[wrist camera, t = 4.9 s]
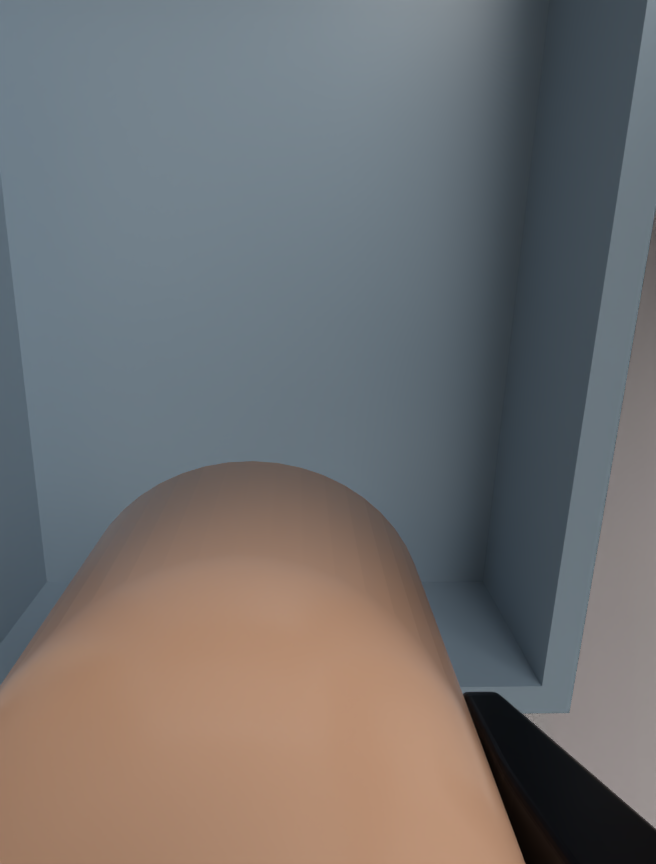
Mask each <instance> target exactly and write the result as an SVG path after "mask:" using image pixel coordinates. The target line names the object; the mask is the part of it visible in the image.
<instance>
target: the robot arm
mask: <svg viewBox="0 0 656 864" xmlns="http://www.w3.org/2000/svg"><path fill="white" fill-rule="evenodd" d="M463 696H464V699H465V701H466V704H467V707H468V710H469V712H470V715H471V718H472V720H473V723H474V726H475V728H476V731H477V734H478V737H479V739H480V742H481V745H482V747H483V750H484V753H485V756H486V758H487V761H488V764H489V766H490V769H491V772H492V774H493V777H494V780H495V783H496V785H497V788H498V791H499V793H500V796H501V799H502V801H503V804H504V807H505V810H506V812H507V815H508V818H509V820H510V823H511V826H512V829H513V831H514V834H515V837H516V839H517V842H518V845H519V847H520V850H521V853H522V856H523V858H524V861H525V864H656V829H655V828H654V827H653V826H652V825H651V824H649V823H648V822H647V821H646V820H645V819H644V818H642V817H641V816H640V815H639V814H638V813H637V812H636V811H634V810H633V809H632V808H631V807H630V806H629V805H627V804H626V803H625V802H624V801H623V800H622V799H620V798H619V797H618V796H617V795H616V794H615V793H614V792H612V791H611V790H610V789H609V788H608V787H607V786H605V785H604V784H603V783H602V782H601V781H600V780H598V779H597V778H596V777H595V776H594V775H593V774H591V773H590V772H589V771H588V770H587V769H586V768H585V767H583V766H582V765H581V764H580V763H579V762H578V761H576V760H575V759H574V758H573V757H572V756H571V755H569V754H568V753H567V752H566V751H565V750H564V749H563V748H561V747H560V746H559V745H558V744H557V743H556V742H554V741H553V740H552V739H551V738H550V737H549V736H547V735H546V734H545V733H544V732H543V731H542V730H541V729H539V728H538V727H537V726H536V725H535V724H534V723H532V722H531V721H530V720H529V719H528V718H527V717H525V716H524V715H523V714H522V713H521V712H520V711H519V710H517V709H516V708H515V707H514V706H513V705H512V704H510V703H509V702H508V701H507V700H506V699H505V698H503V697H502V696H501V695H500V694H498V693H496V692H465V693H464V694H463Z"/></svg>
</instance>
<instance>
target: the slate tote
mask: <svg viewBox="0 0 656 864" xmlns="http://www.w3.org/2000/svg"><path fill="white" fill-rule="evenodd" d="M655 210H656V0H0V685H1V684H2V682H3V681H4V679H5V678H6V676H7V675H8V673H9V672H10V670H11V669H12V667H13V666H14V664H15V663H16V661H17V660H18V659H19V657H20V656H21V654H22V653H23V651H24V650H25V648H26V647H27V645H28V644H29V642H30V641H31V639H32V638H33V636H34V635H35V634H36V632H37V631H38V629H39V628H40V626H41V625H42V623H43V622H44V620H45V619H46V617H47V616H48V614H49V613H50V611H51V610H52V608H53V607H54V606H55V604H56V603H57V601H58V600H59V598H60V597H61V595H62V594H63V592H64V591H65V589H66V588H67V586H68V585H69V583H70V582H71V581H72V579H73V578H74V576H75V575H76V573H77V572H78V570H79V569H80V567H81V566H82V564H83V563H84V561H85V560H86V558H87V557H88V556H89V554H90V553H91V551H92V550H93V548H94V547H95V545H96V544H97V542H98V541H99V539H100V538H101V536H102V535H103V533H104V532H105V531H106V529H107V528H108V526H109V525H110V524H111V523H112V522H113V521H114V520H115V518H116V517H117V516H118V515H119V514H120V513H121V512H122V511H123V510H124V509H125V508H126V507H127V506H129V505H130V504H131V503H132V502H133V501H135V500H136V499H137V498H138V497H139V496H141V495H142V494H144V493H145V492H147V491H149V490H150V489H152V488H153V487H155V486H157V485H158V484H160V483H162V482H164V481H166V480H168V479H171V478H173V477H175V476H177V475H180V474H182V473H185V472H188V471H191V470H195V469H198V468H201V467H205V466H210V465H216V464H222V463H227V462H245V461H258V462H272V463H280V464H285V465H290V466H295V467H300V468H304V469H307V470H310V471H313V472H316V473H319V474H321V475H324V476H326V477H328V478H330V479H333V480H335V481H337V482H339V483H341V484H343V485H345V486H346V487H348V488H350V489H351V490H353V491H354V492H356V493H357V494H359V495H360V496H362V497H363V498H365V499H366V500H367V501H368V502H369V503H370V504H372V505H373V506H374V507H375V508H376V509H377V510H378V511H380V512H381V513H382V514H383V516H384V517H385V518H386V519H387V520H388V521H389V522H390V524H391V525H392V526H393V527H394V528H395V530H396V531H397V533H398V534H399V536H400V537H401V539H402V540H403V542H404V543H405V545H406V546H407V549H408V551H409V553H410V555H411V557H412V559H413V562H414V564H415V566H416V569H417V572H418V574H419V577H420V580H421V582H422V585H423V588H424V591H425V593H426V596H427V599H428V601H429V604H430V607H431V609H432V612H433V615H434V618H435V620H436V623H437V626H438V628H439V631H440V634H441V637H442V639H443V642H444V645H445V647H446V650H447V653H448V655H449V658H450V661H451V664H452V666H453V669H454V672H455V674H456V677H457V680H458V682H459V685H460V688H461V691H462V693H463V694H464V693H465V692H496V693H498V694H500V695H501V696H502V697H503V698H505V699H506V700H507V701H508V702H509V703H510V704H512V705H513V706H514V707H515V708H516V709H517V710H519V711H520V712H521V713H522V714H523V713H569V711H570V705H571V700H572V694H573V688H574V682H575V676H576V671H577V665H578V659H579V653H580V647H581V641H582V636H583V630H584V624H585V618H586V612H587V606H588V601H589V595H590V589H591V583H592V577H593V571H594V566H595V560H596V554H597V548H598V542H599V536H600V531H601V525H602V519H603V513H604V507H605V501H606V496H607V490H608V484H609V478H610V472H611V467H612V461H613V455H614V449H615V443H616V437H617V432H618V426H619V420H620V414H621V408H622V402H623V397H624V391H625V385H626V379H627V373H628V367H629V362H630V356H631V350H632V344H633V338H634V332H635V327H636V321H637V315H638V309H639V303H640V297H641V292H642V286H643V280H644V274H645V268H646V262H647V257H648V251H649V245H650V239H651V233H652V228H653V222H654V216H655Z"/></svg>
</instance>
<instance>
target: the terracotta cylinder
mask: <svg viewBox="0 0 656 864" xmlns="http://www.w3.org/2000/svg"><path fill="white" fill-rule="evenodd" d="M0 864H525V861H524V858H523V856H522V853H521V850H520V847H519V845H518V842H517V839H516V837H515V834H514V831H513V829H512V826H511V823H510V820H509V818H508V815H507V812H506V810H505V807H504V804H503V801H502V799H501V796H500V793H499V791H498V788H497V785H496V783H495V780H494V777H493V774H492V772H491V769H490V766H489V764H488V761H487V758H486V756H485V753H484V750H483V747H482V745H481V742H480V739H479V737H478V734H477V731H476V728H475V726H474V723H473V720H472V718H471V715H470V712H469V710H468V707H467V704H466V701H465V699H464V696H463V693H462V691H461V688H460V685H459V682H458V680H457V677H456V674H455V672H454V669H453V666H452V664H451V661H450V658H449V655H448V653H447V650H446V647H445V645H444V642H443V639H442V637H441V634H440V631H439V628H438V626H437V623H436V620H435V618H434V615H433V612H432V609H431V607H430V604H429V601H428V599H427V596H426V593H425V591H424V588H423V585H422V582H421V580H420V577H419V574H418V572H417V569H416V566H415V564H414V562H413V559H412V557H411V555H410V553H409V551H408V549H407V546H406V545H405V543H404V542H403V540H402V539H401V537H400V536H399V534H398V533H397V531H396V530H395V528H394V527H393V526H392V525H391V524H390V522H389V521H388V520H387V519H386V518H385V517H384V516H383V514H382V513H381V512H380V511H378V510H377V509H376V508H375V507H374V506H373V505H372V504H370V503H369V502H368V501H367V500H366V499H365V498H363V497H362V496H360V495H359V494H357V493H356V492H354V491H353V490H351V489H350V488H348V487H346V486H345V485H343V484H341V483H339V482H337V481H335V480H333V479H330V478H328V477H326V476H324V475H321V474H319V473H316V472H313V471H310V470H307V469H304V468H300V467H295V466H290V465H285V464H280V463H272V462H258V461H245V462H227V463H222V464H216V465H210V466H205V467H201V468H198V469H195V470H191V471H188V472H185V473H182V474H180V475H177V476H175V477H173V478H171V479H168V480H166V481H164V482H162V483H160V484H158V485H157V486H155V487H153V488H152V489H150V490H149V491H147V492H145V493H144V494H142V495H141V496H139V497H138V498H137V499H136V500H135V501H133V502H132V503H131V504H130V505H129V506H127V507H126V508H125V509H124V510H123V511H122V512H121V513H120V514H119V515H118V516H117V517H116V518H115V520H114V521H113V522H112V523H111V524H110V525H109V526H108V528H107V529H106V531H105V532H104V533H103V535H102V536H101V538H100V539H99V541H98V542H97V544H96V545H95V547H94V548H93V550H92V551H91V553H90V554H89V556H88V557H87V558H86V560H85V561H84V563H83V564H82V566H81V567H80V569H79V570H78V572H77V573H76V575H75V576H74V578H73V579H72V581H71V582H70V583H69V585H68V586H67V588H66V589H65V591H64V592H63V594H62V595H61V597H60V598H59V600H58V601H57V603H56V604H55V606H54V607H53V608H52V610H51V611H50V613H49V614H48V616H47V617H46V619H45V620H44V622H43V623H42V625H41V626H40V628H39V629H38V631H37V632H36V634H35V635H34V636H33V638H32V639H31V641H30V642H29V644H28V645H27V647H26V648H25V650H24V651H23V653H22V654H21V656H20V657H19V659H18V660H17V661H16V663H15V664H14V666H13V667H12V669H11V670H10V672H9V673H8V675H7V676H6V678H5V679H4V681H3V682H2V684H1V685H0Z"/></svg>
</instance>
